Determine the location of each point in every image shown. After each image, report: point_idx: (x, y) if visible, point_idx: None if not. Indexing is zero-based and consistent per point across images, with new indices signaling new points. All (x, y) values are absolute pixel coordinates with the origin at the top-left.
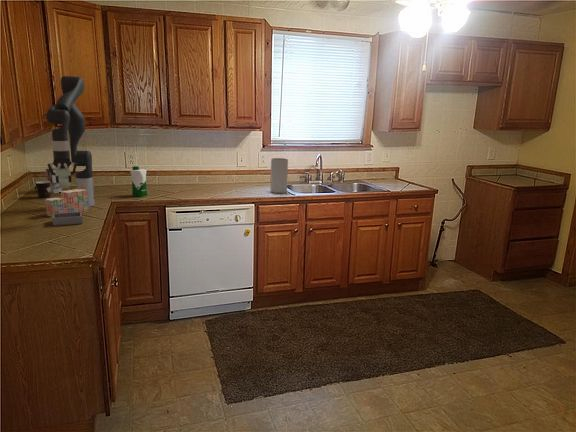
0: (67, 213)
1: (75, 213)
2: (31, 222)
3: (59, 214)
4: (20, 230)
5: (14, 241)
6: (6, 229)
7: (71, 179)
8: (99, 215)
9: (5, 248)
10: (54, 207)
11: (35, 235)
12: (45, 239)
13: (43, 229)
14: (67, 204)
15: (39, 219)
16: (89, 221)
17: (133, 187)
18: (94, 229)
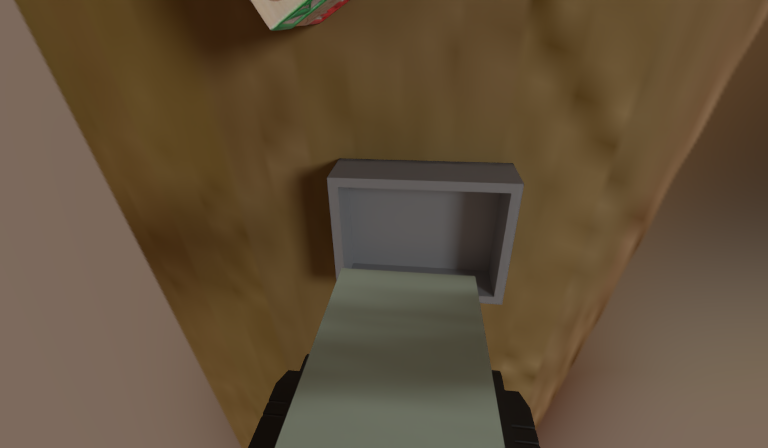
0: (422, 188)
1: (477, 189)
2: (217, 146)
3: (369, 185)
4: (216, 284)
5: (244, 400)
6: (147, 248)
7: (531, 439)
8: (665, 87)
9: (241, 443)
10: (315, 11)
11: (296, 367)
12: None
13: (311, 303)
14: None
15: (243, 77)
16: (543, 237)
17: None
18: (527, 376)
